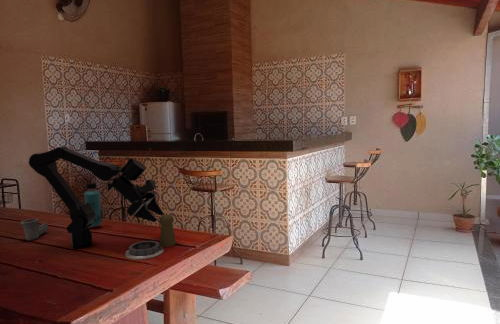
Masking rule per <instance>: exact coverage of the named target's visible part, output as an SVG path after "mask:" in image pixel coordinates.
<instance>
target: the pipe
mask: <svg viewBox="0 0 500 324" xmlns="http://www.w3.org/2000/svg"><path fill="white" fill-rule="evenodd" d="M20 224H21V227H22V229H23V232H24V238H25V240H26V241H29V242H30V241H34V240H36V239H38V238H39V237H40V236H41V235H44V234H45V233H47V232H48V231H49V225H48V224H47V223H45V222H44V223H41V224H40V225H39V218H30V219H25V220H21V221H20Z"/></svg>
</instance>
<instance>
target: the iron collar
mask: <svg viewBox="0 0 500 324" xmlns="http://www.w3.org/2000/svg"><path fill="white" fill-rule="evenodd" d="M164 248H165V247H163V246H160V242H159V241H157V240H156V241H155V240H143V241H138V242H134V243H132V244H130V245H129V246H128V250H126V251H125V253H124V254H125V257H126V258H128V259H130V260H137V261H138V260H149V259H153V258H156V257H159V256H160V255H162V254H163V253H164V250H165V249H164Z"/></svg>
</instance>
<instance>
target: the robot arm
mask: <svg viewBox="0 0 500 324" xmlns="http://www.w3.org/2000/svg"><path fill="white" fill-rule="evenodd" d="M28 159H29V160H28V165H29V167H30V168H31V169H32V170H34V172H35V173H37V174H38V175H40V176H42V177H44V178H45V179H46V181H47V182H48V183H49V185H50V186H51V187H52V189H53V190H54V191H55V193H56V194H57V195H58V197H59V199H61V201H62V202H63V203H64V205H65V206H66V207H67V209H68V213H69V217H70V220H71V222H70V224H68V225H67V226H66V231H67V233H68V234H70V240H71V243H70V246H71V248H72V249H73V250H76V249H77V250H78V249H82V248H87V247H92V246H93V233H92V231H91V229H90V228H91V227H92V226H91V225H92V222H93V221H94V220H95V216H96V215H95V212H94V211H95V210H94V209H93V208H92V207H91V205H90V204H89V203H85V202H82V201H81V200H80V199H79V198H78V196H77V195H76V193H75V192H74V191H73V189H72V188H71V186H69V184H68V182H67V181H66V180H65V178H64V177H63V175H61V173H60V172H59V171H58V165H57V161H60V160H64V161H66V162H69V163H71V164H73V165H76V166H77V167H80V168H82V169H85V170H88V172H90V173H92V175H93V176H95V177H97V178H98V179H100V180H101V181H103V182H107V181H110V180H112V181H111V182H107V184H106V185H107V191H112V190H113V189H115V190H116V192H118V193H119V194H120V195H121V196H122V199H123V201H125V200H127V201H128V202H129V203H130V205H129V207H127V208H126V213H127V214H128V215H129V216H130V217H133V218H139V219H142V220H147V221H150V222H153V223H157V221H158V220H157V218H156V216H155V215H153V213H155V214H156V215H159V216H160V217H161V216H162V215H165V214H164V211H163V209H161V207H160V205H159V204H158V201H157V197H158V196H157V193H156V192H155V191H154V190H156V189H157V188H158V186H157V185H156V183H157V182H156V181H154V180H153V179H151V178H150V179H147V180H145V182H144V183H145V184H143V185H142V186H140V184H136V185H135V183H133V182H132V181H137V180H138V179H139V178H140V177H141V175H143V173H144V172H145V171H146V169H147V168H146V165H144V164H143V162H140V161H139V160H138V159H135V158H134V157H130V158H129V159H128V160H127V162H126V163H125V164H124V165H123V166H117V165H116V164H114V163H112V162H108V161H102V160H96V159H94V158H91V157H89V156H87V155H85V154H82V153H80V152H77V151H75V150H73V149H70V148H69V147H67V146H57V147H56V148H53V149H50V150H48V151H44V152H39V153H38V152H37V153H33V154H32V155H30V157H29V158H28ZM119 175H120V176H119ZM152 212H153V213H152Z"/></svg>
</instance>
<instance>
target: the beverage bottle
mask: <svg viewBox="0 0 500 324" xmlns="http://www.w3.org/2000/svg"><path fill="white" fill-rule="evenodd" d="M86 189H87V190H86V192H84V194H83V195H84V204H85V203H89V204H90V205H91V207H92V208H93V209H94V210H95V211H94V212H95V215H96V216H95V220H94V221H93V222H92V225H91V227H97V226H100V225H102V222H103V220H102V208H101V199H100V198H101V196H100V191H98V190H96V189H97V183H96V182H89V183H86ZM91 189H92V190H91Z"/></svg>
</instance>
